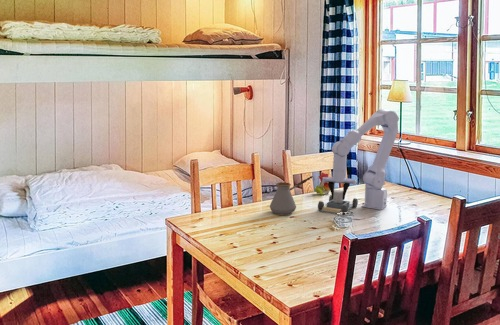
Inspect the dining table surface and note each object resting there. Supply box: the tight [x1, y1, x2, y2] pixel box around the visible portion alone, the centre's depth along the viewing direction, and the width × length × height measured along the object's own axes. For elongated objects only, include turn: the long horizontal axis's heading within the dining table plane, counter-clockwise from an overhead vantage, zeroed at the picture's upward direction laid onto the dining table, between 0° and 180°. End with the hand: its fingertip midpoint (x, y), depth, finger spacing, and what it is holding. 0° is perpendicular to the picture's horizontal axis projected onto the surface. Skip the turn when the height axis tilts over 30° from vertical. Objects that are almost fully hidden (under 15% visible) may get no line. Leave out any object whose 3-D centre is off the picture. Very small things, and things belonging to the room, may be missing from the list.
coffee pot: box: [269, 175, 316, 216], centre depth 220 cm, size 21×12×15 cm, turn 117°
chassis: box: [317, 194, 359, 215], centre depth 226 cm, size 18×12×4 cm
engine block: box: [333, 189, 344, 204], centre depth 225 cm, size 4×4×5 cm
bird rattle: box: [313, 172, 331, 196], centre depth 252 cm, size 6×11×9 cm
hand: (338, 198), depth 225 cm, fingers closed on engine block, 4 cm apart
